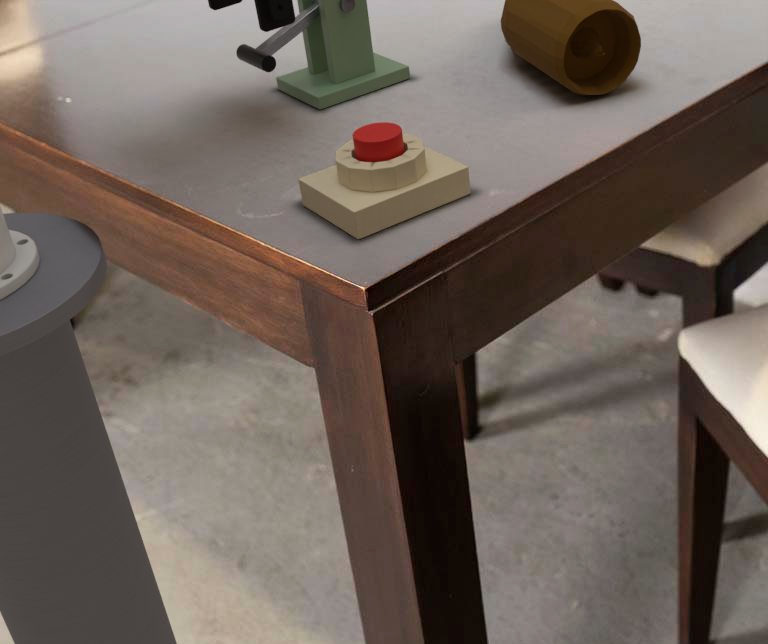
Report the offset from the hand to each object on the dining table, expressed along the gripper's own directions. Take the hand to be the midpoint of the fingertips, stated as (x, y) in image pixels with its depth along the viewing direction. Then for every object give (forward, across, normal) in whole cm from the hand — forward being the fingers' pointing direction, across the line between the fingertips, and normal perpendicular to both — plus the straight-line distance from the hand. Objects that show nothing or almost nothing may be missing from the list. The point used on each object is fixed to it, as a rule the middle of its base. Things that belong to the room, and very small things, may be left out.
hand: (251, 15), depth 97 cm
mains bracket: (+9, 0, +8) cm, 12 cm away
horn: (+9, +10, +25) cm, 28 cm away
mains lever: (+3, 0, +5) cm, 6 cm away
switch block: (+8, +24, -3) cm, 26 cm away
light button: (+5, +24, -3) cm, 25 cm away
